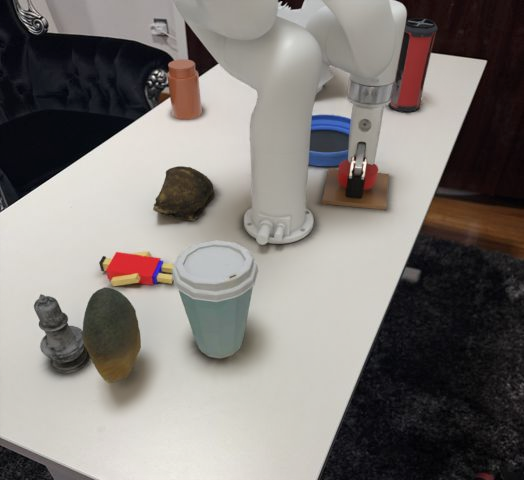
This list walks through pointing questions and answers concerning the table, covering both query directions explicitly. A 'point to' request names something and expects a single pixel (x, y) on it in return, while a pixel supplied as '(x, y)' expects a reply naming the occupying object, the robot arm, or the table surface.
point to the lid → (345, 167)
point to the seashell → (184, 193)
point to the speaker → (413, 64)
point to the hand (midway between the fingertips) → (355, 185)
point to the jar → (184, 89)
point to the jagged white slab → (301, 18)
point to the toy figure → (136, 269)
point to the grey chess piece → (60, 337)
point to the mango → (111, 334)
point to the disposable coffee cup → (216, 293)
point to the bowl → (329, 140)
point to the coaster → (370, 198)
